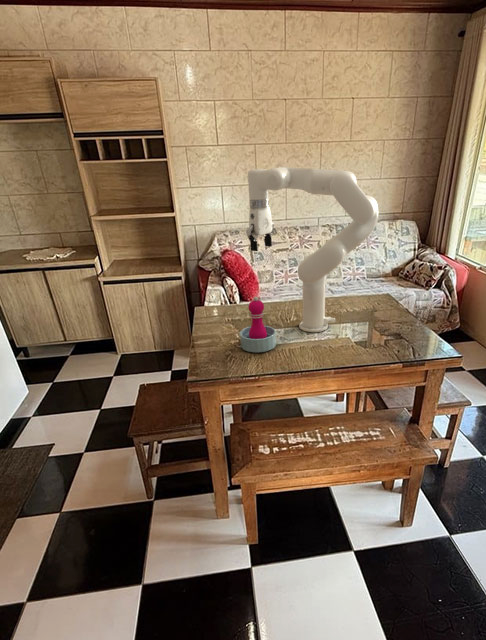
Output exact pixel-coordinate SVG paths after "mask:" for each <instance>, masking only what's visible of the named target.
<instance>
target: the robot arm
mask: <svg viewBox="0 0 486 640" xmlns="http://www.w3.org/2000/svg"><path fill="white" fill-rule="evenodd" d="M247 183H248V199H249V201H248V202H249V213H248V228H247V229H246V230H245V234H246V235H247V236H246V237H247V238H248V241H249V244H250V245H249V246H250V251H251V252H258V251H259V249H258V247H259V246H258V240H257V239H258V237H260V236H261V237H262V236H264V246H265V247H273V245H272V244H273V242H272V237H273V232H274V227H275V224H274V223H273V219H272V211H271V208H270V203H269V202H270V201H269V200H270V199H269V191H274V192H275V191H279V190H283V189H291V190H300V191H305V192H306V193H308V194H311V195H318V196H319V195H322V196H333V198H334V199H335V200H336V201H337V203H338V204H339V205H340V206H341V207H342V208H343V211H345V212H346V214H347V215H348V217H350V219H352V221H351V222H350V223H349V224H348V225H346V226H345V227H344V228H343V229H341V230H340V231H339V232H338V233H336V234H335V235H334V236H333V237H331V238H328V239H327V240H326V242H324V244H322V245H321V246H320V247H319V248H318V249H316V250H315V251H314V252H312V253H309V254H308V255H307V256H305V257H304V258H303V260H302V261H301V262H300V263H299V265H298V267H297V276H298V279H299V280H300V281H301V282H302V321H301V322H299V324H298V327H299V329H300V330H301V331H304V332H307V333H320V332H323V331H326V330H327V329H328V328H329V323H336V318H335V317H332V316H325V315H326V314H325V313H326V282H327V275H328V274H330V273H331V272H332V271H334V270H335V269H336V268H337V267H338V266H340V264H342V262H343V261H344V260H345V258H346V257H347V255H348V254H350V253H351V252H352V251H354V250H355V249H356V248H357V247H358V246H360V245H361V244H362V243H364V242H365V241H366V240H367V239H368V238H369V236H371V235H372V233H373V232H374V230H375V227H376V225H377V223H378V220H379V205H378V202H377V200H376V199H375V198H374V197H373V196H371V195H366V194H365V193H364V191H363V190H362V189H361V188H360V186H359V185H358V184H357V177H356V175H355V174H354V173H353V172H352V171H349V170H343V169H342V170H339V169H326V168H325V169H323V168H302V167H287V166H281V167H279V166H278V167H274V168H270V169H265V168H252V169H249V170H248V172H247Z"/></svg>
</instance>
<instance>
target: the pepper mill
mask: <svg viewBox="0 0 486 640" xmlns="http://www.w3.org/2000/svg"><path fill="white" fill-rule="evenodd" d="M264 309H265V305H264V303H263V302H262V301H261V300H259V298H258V296H254V297H253V300H251V301H250V302H249V304H248V311H249V312H250V315H249V317H250V318H251V325H250V326H251V328H250V331H249V337H250V339H263V338H266V337H267V331H266V329H265V327H264V326H265V324H264V322H263V317H264Z"/></svg>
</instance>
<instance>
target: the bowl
mask: <svg viewBox="0 0 486 640" xmlns="http://www.w3.org/2000/svg"><path fill="white" fill-rule="evenodd" d="M251 326H252V325H250V326H247V327H244V328H242V329H241V330H240V332H239V341H240V348H241V349H242V350H244V351H245V352H248V353H249V352H250V353H255V354H256V353H257V354H258V353H265V352H268V351H269V352H270V351H271V350H273V349H274V348H276V346H277V331H276V329H275V328H274V327H272V326H269V325H264V327H265V329H266V331H267V337H266V338H263V339H250V337H249V331H250V328H251Z"/></svg>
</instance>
